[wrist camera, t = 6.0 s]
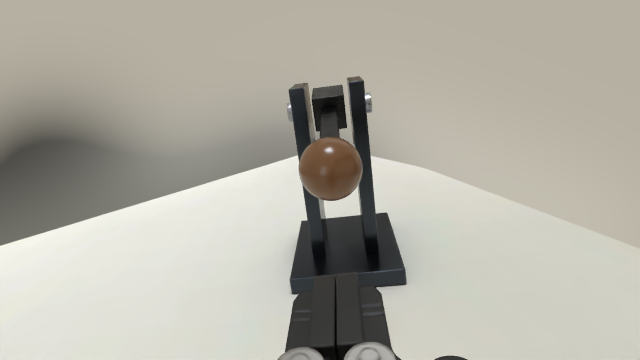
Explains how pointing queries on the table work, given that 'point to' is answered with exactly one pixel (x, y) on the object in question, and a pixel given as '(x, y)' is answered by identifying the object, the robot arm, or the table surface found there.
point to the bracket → (343, 232)
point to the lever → (330, 150)
